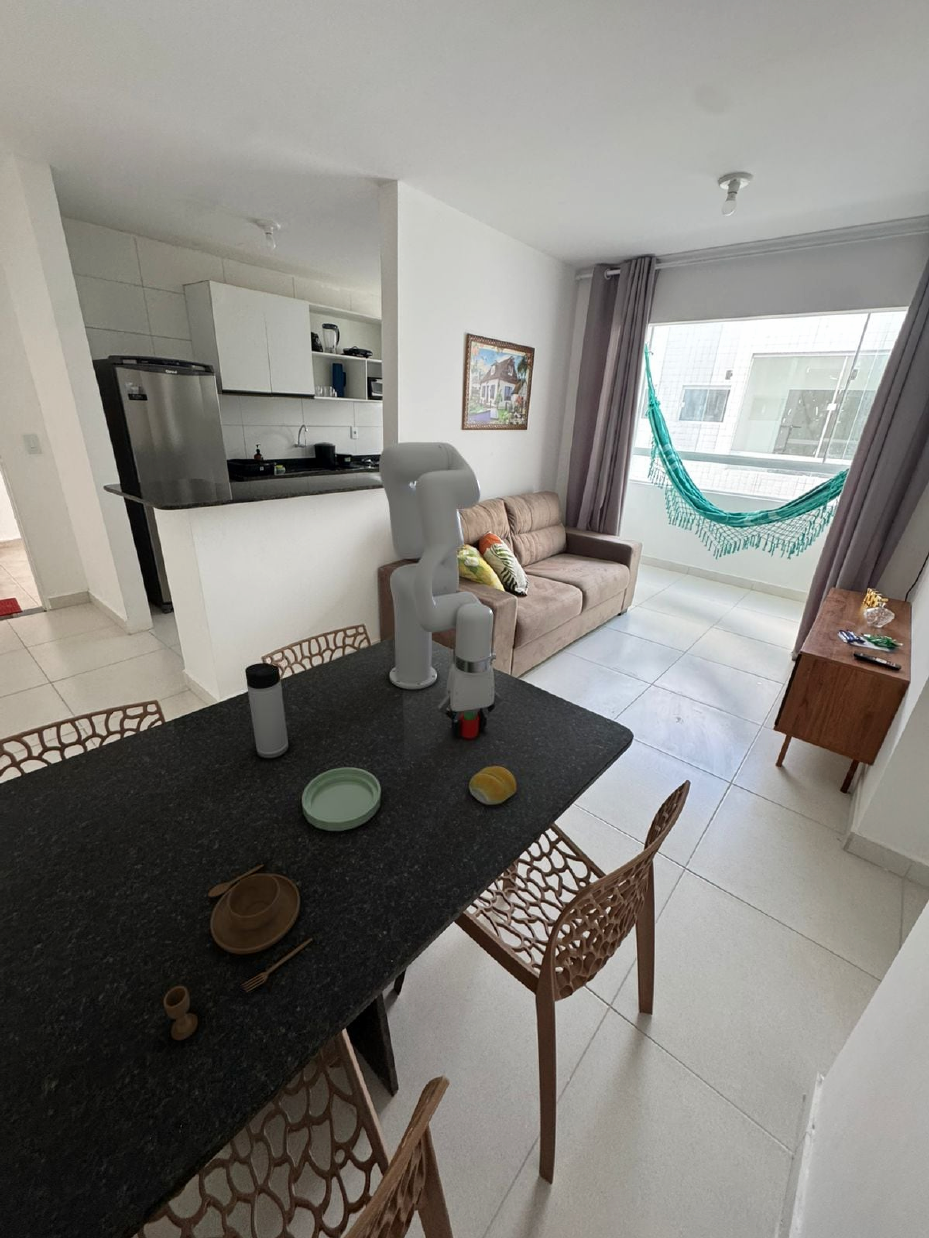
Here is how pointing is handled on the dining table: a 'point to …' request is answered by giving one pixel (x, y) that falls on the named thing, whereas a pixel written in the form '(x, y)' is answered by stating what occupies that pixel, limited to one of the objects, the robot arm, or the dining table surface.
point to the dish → (341, 799)
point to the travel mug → (267, 709)
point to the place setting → (243, 931)
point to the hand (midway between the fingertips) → (468, 730)
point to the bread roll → (492, 785)
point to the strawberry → (469, 724)
